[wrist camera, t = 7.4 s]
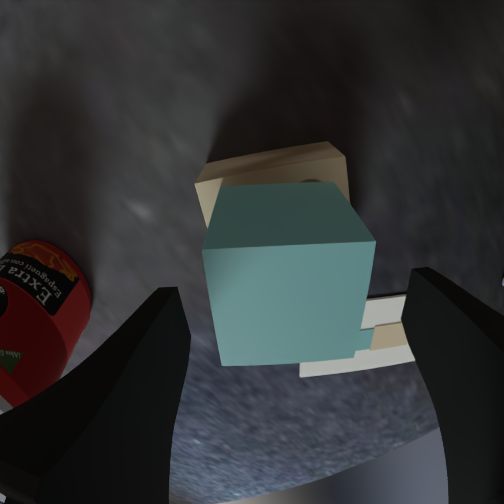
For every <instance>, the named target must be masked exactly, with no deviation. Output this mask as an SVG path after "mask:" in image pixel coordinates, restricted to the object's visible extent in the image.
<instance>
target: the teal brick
mask: <svg viewBox="0 0 504 504" xmlns="http://www.w3.org/2000/svg"><path fill="white" fill-rule="evenodd" d="M375 244H376V241H375V239H374V238H373V236H372V235H371V233H370V232H369V230H368V229H367V227H366V226H365V225H364V223H363V222H362V220H361V219H360V217H359V216H358V214H357V213H356V212H355V210H354V209H353V207H352V206H351V205H350V203H349V202H348V200H347V199H346V198H345V196H344V195H343V194H342V192H341V191H340V189H339V188H338V187H337V185H336V184H335V183H334V182H306V183H277V184H256V185H238V186H222V187H220V189H219V192H218V195H217V199H216V202H215V205H214V209H213V212H212V215H211V219H210V222H209V226H208V229H207V232H206V236H205V239H204V243H203V246H202V255H203V262H204V268H205V274H206V280H207V286H208V292H209V298H210V304H211V310H212V315H213V321H214V326H215V332H216V337H217V343H218V348H219V353H220V358H221V363H222V366H244V365H271V364H289V363H304V362H317V361H328V360H338V359H347V358H354V355H355V351H356V347H357V342H358V338H359V333H360V329H361V324H362V319H363V314H364V309H365V304H366V299H367V294H368V288H369V282H370V277H371V270H372V264H373V258H374V251H375Z"/></svg>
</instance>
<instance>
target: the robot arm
mask: <svg viewBox="0 0 504 504" xmlns="http://www.w3.org/2000/svg"><path fill="white" fill-rule="evenodd" d="M502 284H503V286H504V279H503V282H502ZM401 322H402V325H403V328H404V332H405V335H406V338H407V342H408V345H409V347H410V349H411V352H412V354H413V356H414V359H415V361H416V363H417V366H418V368H419V370H420V372H421V375H422V377H423V379H424V382H425V384H426V387H427V389H428V391H429V394H430V396H431V399H432V402H433V404H434V407H435V411H436V414H437V418H438V422H439V427H440V431H441V435H442V441H443V446H444V452H445V458H446V466H447V476H448V496H449V504H504V316H503V315H501V314H500V313H498V312H497V311H495V310H493V309H492V308H490V307H489V306H487V305H486V304H484V303H483V302H481V301H480V300H478V299H477V298H475V297H474V296H473V295H471V294H470V293H468V292H467V291H465V290H464V289H462V288H461V287H459V286H458V285H456V284H455V283H453V282H452V281H451V280H449V279H448V278H446V277H444V276H443V275H441V274H440V273H438V272H436V271H435V270H433V269H431V268H429V267H423V268H414V269H412V270H411V275H410V280H409V285H408V289H407V294H406V298H405V303H404V307H403V311H402V315H401ZM190 342H191V334H190V330H189V327H188V323H187V320H186V317H185V313H184V309H183V306H182V302H181V299H180V295H179V291H178V287H161V288H158V289H157V290H156V291H154V292H153V293H152V294H151V295H150V296H149V297H148V298H147V300H146V301H145V302H144V303H143V304H142V305H141V306H140V307H139V308H138V309H137V310H136V311H135V312H134V313H133V314H132V315H131V316H130V317H129V318H128V319H127V320H126V321H125V322H124V323H123V324H122V325H121V327H120V328H119V329H118V330H117V331H116V332H114V333H113V334H112V335H111V336H110V337H109V338H108V339H107V340H106V341H105V342H104V343H103V344H102V345H101V346H100V347H99V348H98V349H97V350H96V351H95V352H93V353H92V354H91V355H90V356H89V357H88V358H86V359H85V360H84V361H83V362H82V363H81V364H79V365H78V366H77V367H75V368H74V369H73V370H72V371H70V372H69V373H68V374H67V375H65V376H64V377H62V378H61V379H60V380H58V381H57V382H55V383H54V384H52V385H51V386H49V387H48V388H46V389H45V390H44V391H42V392H41V393H39V394H37V395H36V396H34V397H32V398H31V399H29V400H27V401H26V402H24V403H22V404H20V405H18V406H16V407H15V408H13V409H11V410H9V411H7V412H5V413H2V414H0V493H1V494H3V495H5V496H6V500H5V502H4V503H3V502H1V501H0V504H169V474H170V458H171V447H172V436H173V430H174V424H175V419H176V415H177V411H178V406H179V402H180V398H181V393H182V389H183V385H184V380H185V376H186V372H187V367H188V362H189V353H190Z"/></svg>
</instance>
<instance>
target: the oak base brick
mask: <svg viewBox="0 0 504 504" xmlns="http://www.w3.org/2000/svg"><path fill="white" fill-rule="evenodd" d="M306 182H334V183H335V184H336V185H337V187H338V188H339V189H340V191H341V192H342V194H343V195H344V196H345V198H346V199H347V200H348V202H349V203H350V198H349V187H348V177H347V167H346V158H345V156H344V155H343V154H342V153H341V152H340V151H339V150H337V149H336V148H335V147H334V146H333V145H331V144H330V143H329V142H328V141H326V142H319V143H312V144H306V145H299V146H293V147H287V148H281V149H276V150H270V151H265V152H259V153H254V154H249V155H244V156H239V157H234V158H229V159H225V160H220V161H215V162H211V163H206V164H205V166H204V168H203V170H202V171H201V173H200V175H199V177H198V178H197V180H196V182H195V187H196V191H197V194H198V198H199V201H200V205H201V208H202V212H203V215H204V219H205V222H206V225H207V229H208V226H209V222H210V219H211V215H212V212H213V209H214V205H215V202H216V199H217V195H218V192H219V189H220V187H222V186H238V185H256V184H277V183H306Z"/></svg>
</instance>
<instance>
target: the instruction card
mask: <svg viewBox="0 0 504 504" xmlns="http://www.w3.org/2000/svg"><path fill="white" fill-rule="evenodd" d="M405 298H406V294H403V295H395V296H387V297H379V298H370V299H366V304H365V309H364V314H363V319H362V324H361V329H360V333H359V338H358V342H357V347H356V351H355V355H354V358H347V359H338V360H328V361H317V362H304V363H300V377H309V376H318V375H327V374H335V373H343V372H351V371H358V370H364V369H371V368H377V367H383V366H389V365H394V364H400V363H405V362H410V361H415V359H414V356H413V354H412V352H411V349H410V347H409V345H408V342H407V338H406V335H405V332H404V328H403V325H402V322H401V315H402V311H403V307H404V303H405Z"/></svg>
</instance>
